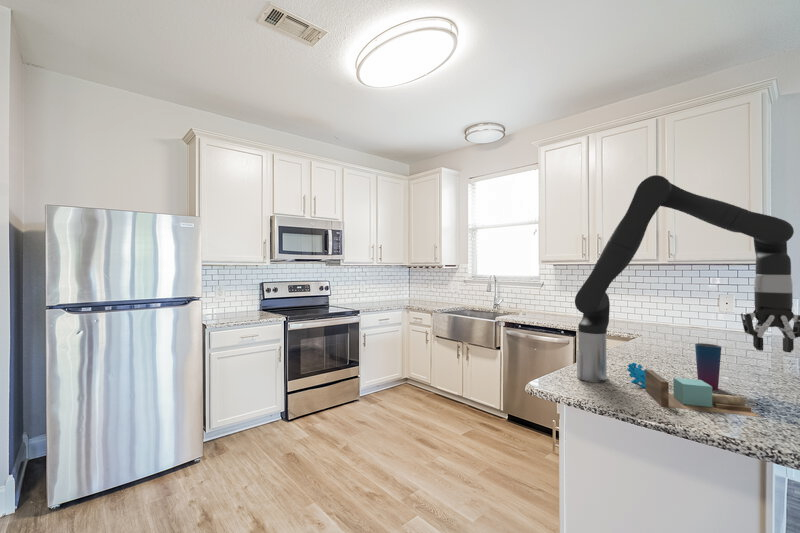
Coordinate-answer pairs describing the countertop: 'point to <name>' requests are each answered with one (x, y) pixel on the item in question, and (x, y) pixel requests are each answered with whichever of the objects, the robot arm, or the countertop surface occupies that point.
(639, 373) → the gear
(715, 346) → the cup
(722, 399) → the dowel
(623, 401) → the countertop surface
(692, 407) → the board
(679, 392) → the block
